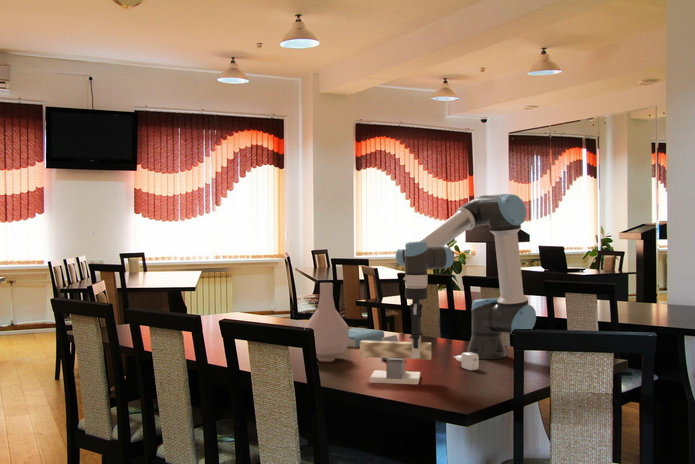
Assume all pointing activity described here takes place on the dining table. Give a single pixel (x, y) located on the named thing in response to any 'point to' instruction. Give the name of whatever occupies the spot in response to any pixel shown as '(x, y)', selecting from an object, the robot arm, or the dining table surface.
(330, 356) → the vase
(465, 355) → the power adapter
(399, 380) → the fulcrum
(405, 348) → the beam
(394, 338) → the electrical switch
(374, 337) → the book
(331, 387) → the dining table surface
